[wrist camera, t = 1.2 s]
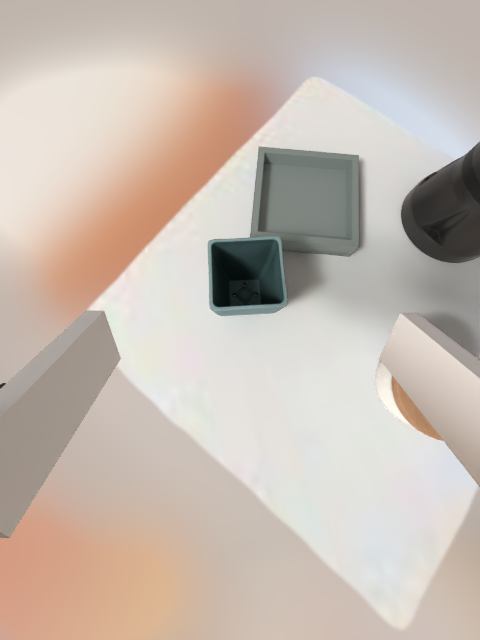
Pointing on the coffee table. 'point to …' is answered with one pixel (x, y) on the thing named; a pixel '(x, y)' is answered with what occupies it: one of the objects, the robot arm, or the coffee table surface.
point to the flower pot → (246, 276)
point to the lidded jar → (400, 403)
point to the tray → (307, 200)
